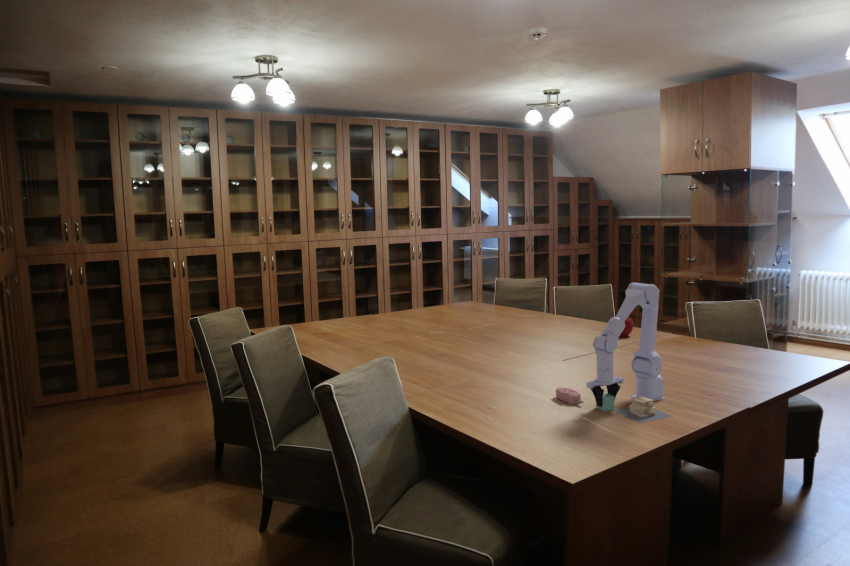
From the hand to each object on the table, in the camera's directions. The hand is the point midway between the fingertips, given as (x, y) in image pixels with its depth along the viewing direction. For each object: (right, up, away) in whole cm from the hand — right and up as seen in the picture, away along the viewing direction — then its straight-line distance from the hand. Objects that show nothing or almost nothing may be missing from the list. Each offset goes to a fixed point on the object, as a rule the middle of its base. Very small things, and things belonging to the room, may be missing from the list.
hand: (605, 405), depth 213 cm
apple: (+47, +14, +121) cm, 130 cm away
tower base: (+11, -2, -6) cm, 13 cm away
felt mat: (+11, -2, -6) cm, 13 cm away
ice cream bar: (-10, -1, +10) cm, 14 cm away
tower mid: (+11, +1, -7) cm, 13 cm away
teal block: (0, -1, 0) cm, 1 cm away
